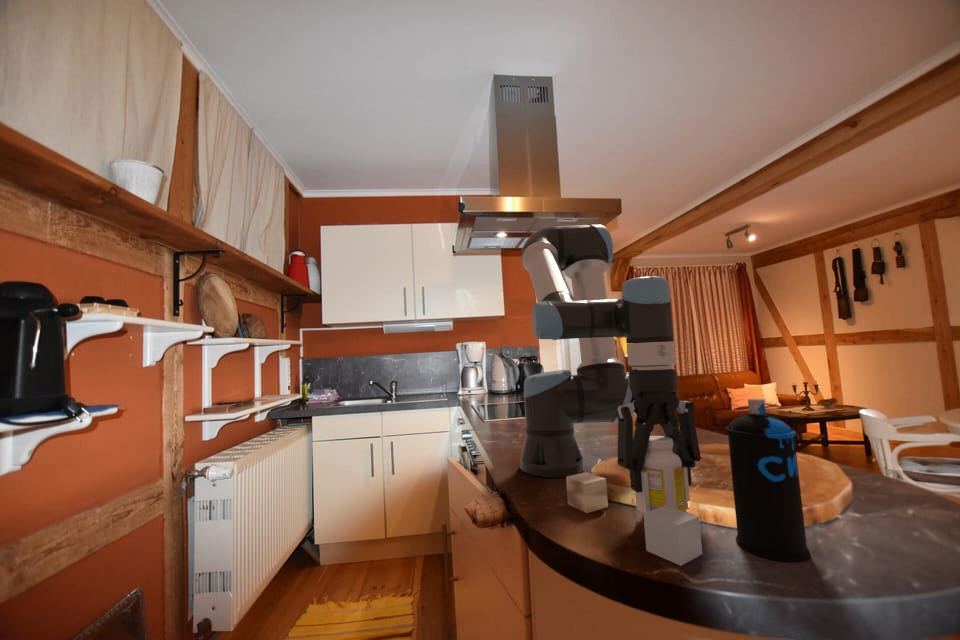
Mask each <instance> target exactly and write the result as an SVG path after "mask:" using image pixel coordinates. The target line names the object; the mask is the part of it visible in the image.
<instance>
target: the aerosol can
mask: <svg viewBox="0 0 960 640" xmlns="http://www.w3.org/2000/svg"><path fill="white" fill-rule="evenodd" d="M747 404H748V413H746V414H745V415H742V416H739V417H736V418H735V419H733V420H732V421H731V422H729V424H728V425H727V426H725V428H724V429H725V431H726V432H727V440H728V450H729V451H728V452H729V458H730V460H729V461H730V469H731V480H732V488H733V492H732V493H733V500H734V510H735V520H736V521H735V522H736V532H737V535H736V536H735V541H736V543H737V545H738V546H739V547H741V548H742V549H743V550H744V551H747V552H749V553H750V554H752V555H755V556H757V557H761V558H763V559H767V560H773V561H776V562H777V561H778V562H786V563H787V562H788V563H794V562H795V563H797V562H802V561H805V560H807V559H809V558H810V556H811V552H810V549H809V547H808V545H807V537H806V536H807V535H806V529H805V528H806V527H805V518H804V511H803V510H804V509H803V502H802V501H803V500H802V492H801V482H800V475H799V474H800V473H799V465H798V457H797V456H798V455H797V449H796V448H797V447H796V446H797V445H796V439H795V436H797V431H796V430H795V429H793V428H791V427H790V425H788V424H787V423H786V422H785V421H783V420H782V419H779V418H777V417H773V416H771V415H769V414H768V413H767V410H766V401H765V399H763V398H748V399H747Z"/></svg>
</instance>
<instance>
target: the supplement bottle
mask: <svg viewBox="0 0 960 640" xmlns="http://www.w3.org/2000/svg"><path fill="white" fill-rule="evenodd" d="M672 448H673V439H672V438H670V437H666V435H664V436H663V435H650V438H649V443H648V447H647V452H646V456H645V461H644V465H643V471H645V472H647V474H648V486H649V499H650V511H652V510H654V509H657V508H659V507H662V506H664V505H666V506H669V507H672V508H675V509H678V510H681V511H685V512H687V509H686V504H685V494H684V484H683V473H682V463H681V459H680V457H679V456H678V455H676V454H674V453H673V451H672ZM642 515H643V516H644V513H642Z"/></svg>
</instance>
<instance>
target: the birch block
mask: <svg viewBox="0 0 960 640" xmlns="http://www.w3.org/2000/svg"><path fill="white" fill-rule="evenodd" d="M565 480H566V494H567V495H566V496H567V505H569V506H571V507H573V508H575V509H577V510H579V511H581V512H583V513H585V514H588V513H592V512H595V511H598V510H599V511H600V510H603V509H607V508H608V507H609V500H608V486H607V478H605V477H602V476H599V475H597V474H594V473H591V472H588V471H587V472H581V473H579V474H576V475H572V476H567V477H565Z"/></svg>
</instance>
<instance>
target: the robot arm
mask: <svg viewBox="0 0 960 640" xmlns="http://www.w3.org/2000/svg"><path fill="white" fill-rule="evenodd" d="M610 233H611V232H610V231H609V229H608V228H607V227H606V226H604V225H602V224H592V223H586V224H579V225H578V224H577V225H576V224H575V225H574V224H573V225H553V226H552V225H551V226H550V225H549V226H545V227H543V228H541V229H538V230H536V231H534V232H533V233H532V234H531V235H530V236H529V237H528V238H527V239H526V241H525V242H524V244H523V246H522V249H521V254H520V255H521V256H520V257H521V259H520V260H521V263H522V265H523V268H524V269H525V271H526V272H527V273H529V277H530V280H531V284H532V287H533V289H534V290H533V291H534V295H535V298H536V301H537V302H535V303H534V305H533V306H532V310H531V311H532V313H531V314H532V315H531V316H532V317H531V319H532V329H533V335H534V337H536V338H537V339H539V340H552V341H558V340H570V339H574V340H575V339H578V343H579V351H580V359H581V363H580V364H579V365H578V366H577V368H576V374H572V372H571V371H570V369H561V370H560V369H559V370H553V371H552V370H551V371H545V372H540V373H536V374H535V373H534V374H532V375H531V374H530V375H529V376H527V377H526V378H524V380H523V381H524V382H523V398H524V416H525V417H524V420H525V440H524V443H523V447H522V451H521V456H520V460H519V464H520V467H519V469H520V470H522V471H521V472H523V473H524V472H525V473H524V474H526V473H527V474H526V475H529V474H530V475H529V476H533V475H534V476H535V477H539V476H541V478H566V477H567V476H572V475H576V474H581V473H583V472H582V471H584V470H585V462H584V457H583V455H582V453H581V450H580V447H579V444H578V441H577V440H576V439H577V438H576V436H575V424H589V423H590V424H591V423H593V424H595V423H596V424H597V423H599V424H600V423H611V424H613V423H615V422H617V459H616V461H617V464H618V466H620V467H623V469H627V470H629V480H630V489H631V490H632V491H634V493H635V495H634V496H635V506H636V507H635V508H636V510H638V511H639V512H641V513H642V514H643V513H647V512H649V511H650V499H649V486H648V474H647V472H645V471H643V465H644V461H645V456H646V452H647V447H648V443H649V438H650V436H651V433H652V432H653V431H654V430H655V429H654V428H655V426H657V425H659V426H660V427H662V430H663V432H664V436H665V437H670V438H672V439H673V448H672V451H673V453H674V454H676V455H678V456H679V457H680V459H681V463H682V473H683V484H684V494H685V504H686V510H690V509H689V508H688V503H687V502H688V501H690V502H691V498H690V488H689V487H691V486H692V481H693V480H692V471H691V469H693V468H695V466H696V462H698V463H699V462H701V459H702V457H701V450H700V445H699V440H698V434H697V429H696V422H695V417H694V415H695V414H694V413H695V407H696V406H695V403H694V402H693V401H689V400H680V399H679V397H678V395H677V391H678V389H679V383H678V380H679V379H678V371H677V370H676V369H675V368H673V366H675V365H676V364H677V363H676V362H677V361H676V360H677V359H676V351H675V349H676V348H675V341H674V329H673V328H674V327H673V326H674V325H673V313H672V311H673V310H672V296H671V294H670V285H669V281H668V280H667V278H665V277H663V276H656V275H655V276H651V275H650V276H640V277H635V278H631V279H628V280H625V281H624V282H623V284H622V290H621V292H622V293H621V297H620V298H608V294H607V289H606V283H605V276H604V274H605V273H606V272H607V270H608V269H609V265H611V263H612V261H613V258H614V250H613V249H614V243H613V238H612V235H611V234H610ZM562 269H564V273H563V271H562ZM565 276H566V277H567V278H569V279H570V281H571V287H572V290H571V289H570V287H569V285H568V283H567V282H568V281H567V279H566V277H565ZM614 338H619V339H620V338H626V339H625V341H626V342H625V343H626V356H627V366H629V367H630V368H631V369H630V370H629V371H626V369H625V363H623V362H622V361H620V360H619V359H618V358H617V352H616V345H615V340H614ZM676 411H677V416H676ZM634 415H636V417H635V421H634V419H633V417H634ZM634 427H635V430H634Z"/></svg>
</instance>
